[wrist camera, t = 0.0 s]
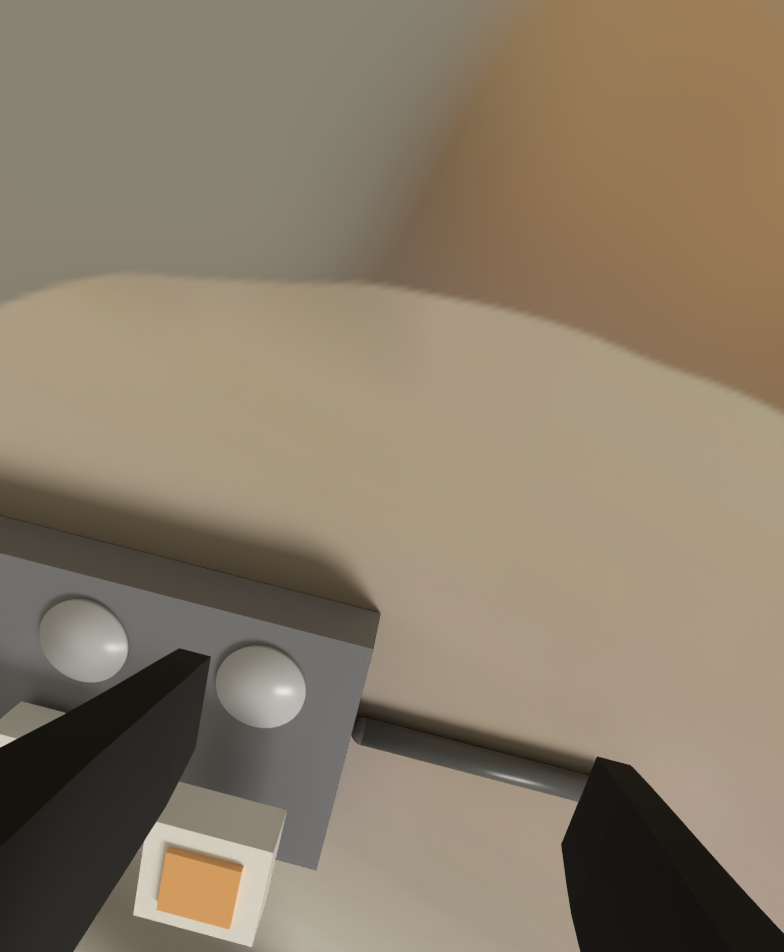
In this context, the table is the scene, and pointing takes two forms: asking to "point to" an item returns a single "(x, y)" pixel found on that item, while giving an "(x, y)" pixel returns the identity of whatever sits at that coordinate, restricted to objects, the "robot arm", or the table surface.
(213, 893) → the button
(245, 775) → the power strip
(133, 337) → the table surface
